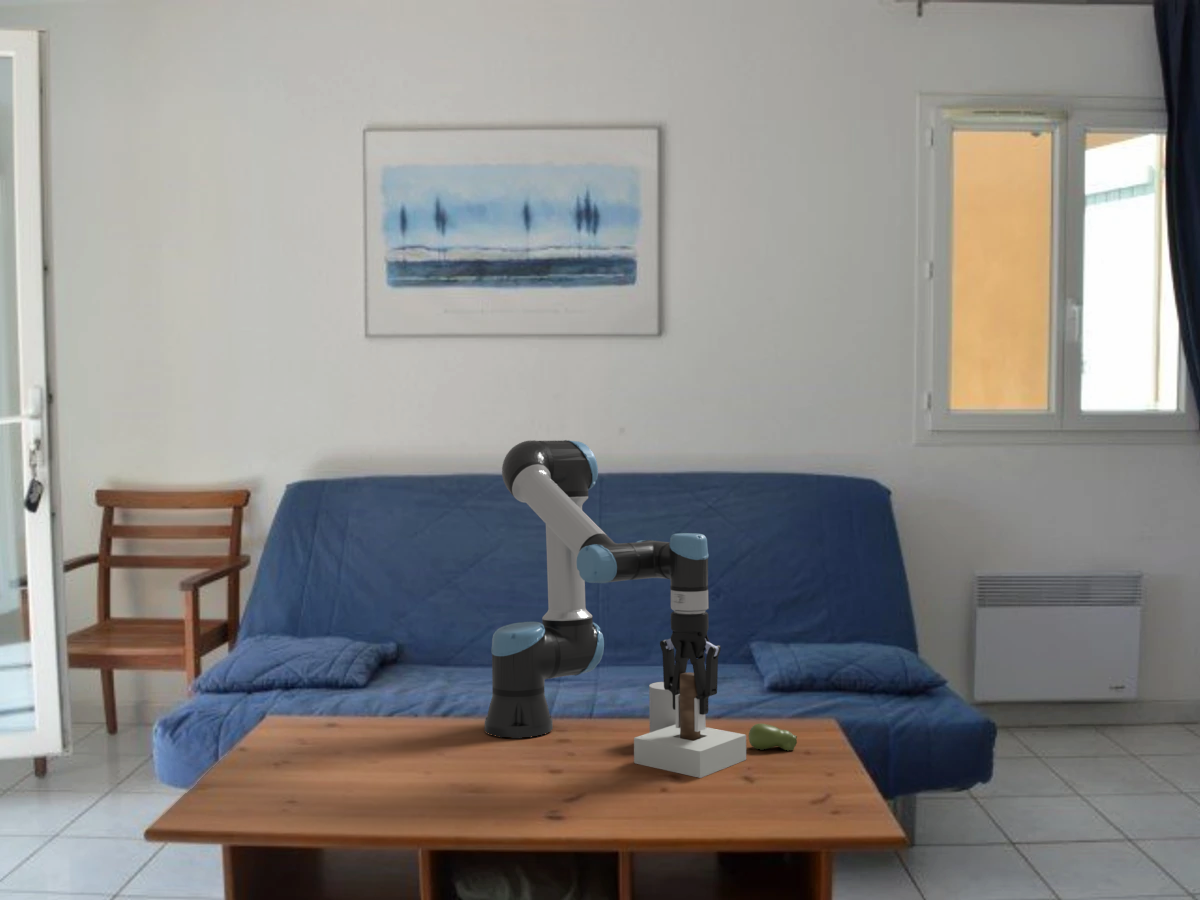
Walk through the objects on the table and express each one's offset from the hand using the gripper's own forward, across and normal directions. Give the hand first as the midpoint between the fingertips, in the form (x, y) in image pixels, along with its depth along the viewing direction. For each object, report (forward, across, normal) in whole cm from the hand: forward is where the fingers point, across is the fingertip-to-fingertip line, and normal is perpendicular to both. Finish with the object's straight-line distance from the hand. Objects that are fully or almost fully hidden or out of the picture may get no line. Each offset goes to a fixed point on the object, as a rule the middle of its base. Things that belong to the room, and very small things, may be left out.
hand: (690, 728), depth 218 cm
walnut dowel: (+3, 0, 0) cm, 3 cm away
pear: (+7, +8, +18) cm, 21 cm away
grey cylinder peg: (+7, -12, +9) cm, 17 cm away
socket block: (+7, 0, 0) cm, 7 cm away
